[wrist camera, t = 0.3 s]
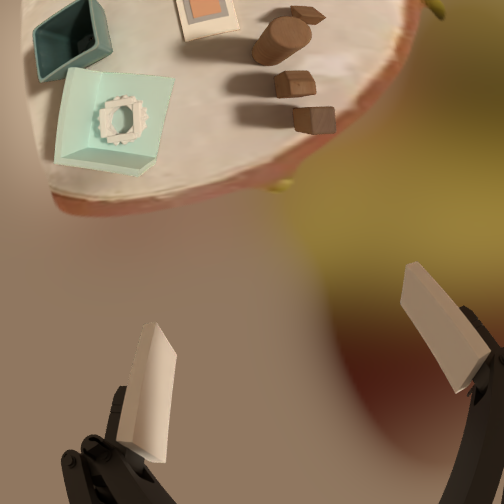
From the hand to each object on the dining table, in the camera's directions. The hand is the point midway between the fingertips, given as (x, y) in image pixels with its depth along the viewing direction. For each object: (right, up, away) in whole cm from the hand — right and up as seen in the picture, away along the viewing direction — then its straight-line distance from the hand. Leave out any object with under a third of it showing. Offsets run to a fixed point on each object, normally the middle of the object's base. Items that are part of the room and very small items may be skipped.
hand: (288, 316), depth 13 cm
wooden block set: (+3, +27, +16) cm, 31 cm away
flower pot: (-23, +31, +11) cm, 41 cm away
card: (-8, +35, +10) cm, 37 cm away
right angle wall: (-19, +21, +17) cm, 33 cm away
